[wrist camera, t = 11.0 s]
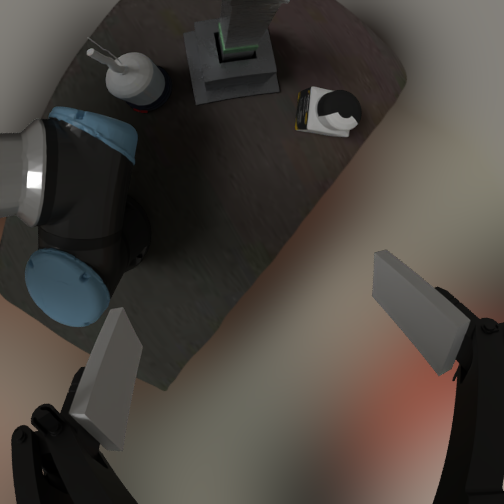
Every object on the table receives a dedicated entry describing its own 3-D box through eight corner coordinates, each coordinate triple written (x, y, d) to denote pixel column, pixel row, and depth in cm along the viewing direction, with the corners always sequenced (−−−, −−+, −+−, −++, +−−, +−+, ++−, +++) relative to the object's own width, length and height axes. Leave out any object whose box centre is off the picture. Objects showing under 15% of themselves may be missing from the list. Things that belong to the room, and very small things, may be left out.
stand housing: (196, 105, 41) (192, 98, 32) (183, 34, 35) (177, 14, 27) (278, 92, 42) (294, 83, 33) (264, 23, 36) (276, 2, 27)
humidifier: (134, 119, 40) (63, 109, 18) (120, 79, 37) (47, 42, 14) (178, 100, 40) (144, 64, 17) (164, 60, 37) (122, -3, 14)
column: (220, 64, 33) (231, -1, 14) (215, 38, 31) (222, -40, 12) (252, 60, 33) (292, -3, 14) (247, 34, 31) (280, -42, 12)
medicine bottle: (298, 91, 42) (324, 80, 31) (335, 99, 43) (369, 92, 32) (294, 130, 45) (319, 129, 34) (331, 136, 46) (364, 138, 35)
